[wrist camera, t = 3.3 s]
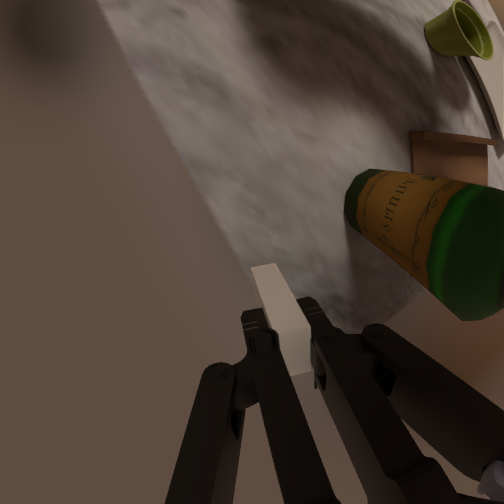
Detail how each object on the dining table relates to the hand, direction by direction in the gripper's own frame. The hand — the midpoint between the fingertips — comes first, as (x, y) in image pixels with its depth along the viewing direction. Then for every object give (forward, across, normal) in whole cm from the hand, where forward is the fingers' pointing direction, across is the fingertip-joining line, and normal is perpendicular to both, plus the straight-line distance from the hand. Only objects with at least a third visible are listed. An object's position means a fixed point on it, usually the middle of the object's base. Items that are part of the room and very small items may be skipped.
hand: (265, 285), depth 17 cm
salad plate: (+15, +52, +22) cm, 58 cm away
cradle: (+14, +34, 0) cm, 37 cm away
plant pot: (+15, +34, +25) cm, 44 cm away
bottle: (+15, +17, 0) cm, 22 cm away
